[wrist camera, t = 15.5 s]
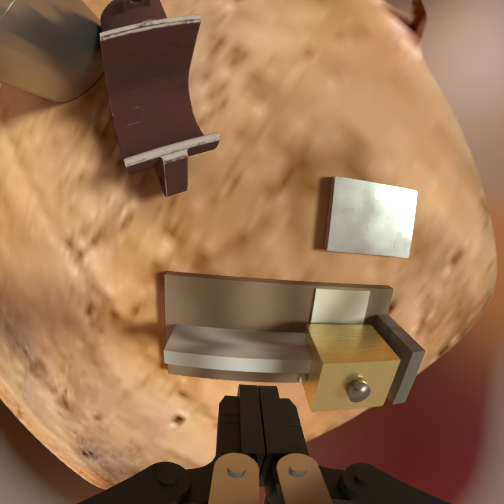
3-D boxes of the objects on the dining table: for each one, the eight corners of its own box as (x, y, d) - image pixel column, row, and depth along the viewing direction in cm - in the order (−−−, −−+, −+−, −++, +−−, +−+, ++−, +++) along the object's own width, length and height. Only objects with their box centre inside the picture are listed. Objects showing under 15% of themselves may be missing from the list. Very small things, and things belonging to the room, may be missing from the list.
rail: (170, 367, 26) (149, 422, 18) (167, 271, 24) (135, 307, 16) (365, 374, 27) (394, 423, 19) (388, 285, 25) (435, 320, 17)
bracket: (138, 211, 20) (122, 150, 11) (101, 58, 20) (94, -20, 11) (213, 186, 22) (252, 117, 13) (160, 43, 22) (171, -34, 13)
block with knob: (297, 367, 24) (312, 418, 17) (305, 323, 23) (326, 370, 16) (359, 366, 24) (386, 411, 18) (370, 324, 23) (405, 365, 17)
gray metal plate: (323, 248, 24) (327, 250, 23) (331, 176, 23) (335, 176, 22) (403, 255, 24) (408, 257, 23) (411, 190, 23) (417, 191, 22)
